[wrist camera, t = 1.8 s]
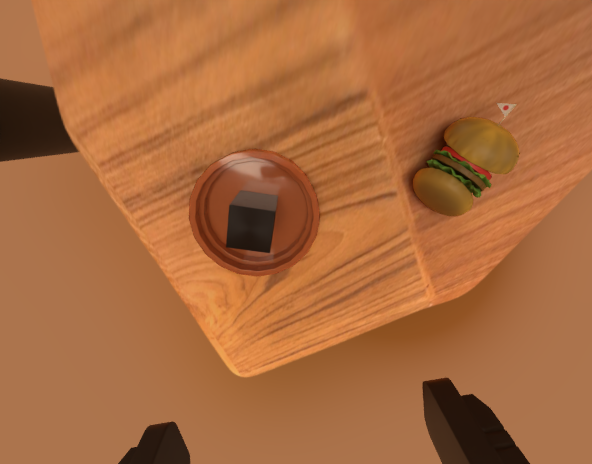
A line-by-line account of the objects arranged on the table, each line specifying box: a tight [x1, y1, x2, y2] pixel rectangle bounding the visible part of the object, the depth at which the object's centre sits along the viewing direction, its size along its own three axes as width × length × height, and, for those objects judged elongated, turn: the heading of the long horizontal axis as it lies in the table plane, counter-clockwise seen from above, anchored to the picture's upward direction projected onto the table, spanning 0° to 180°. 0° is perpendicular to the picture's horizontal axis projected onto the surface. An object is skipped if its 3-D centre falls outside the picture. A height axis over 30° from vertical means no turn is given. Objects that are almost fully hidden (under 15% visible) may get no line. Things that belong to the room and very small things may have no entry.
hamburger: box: [413, 103, 520, 216], centre depth 32 cm, size 8×7×12 cm
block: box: [226, 190, 278, 253], centre depth 33 cm, size 4×4×7 cm
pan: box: [189, 149, 320, 276], centre depth 35 cm, size 14×14×4 cm
